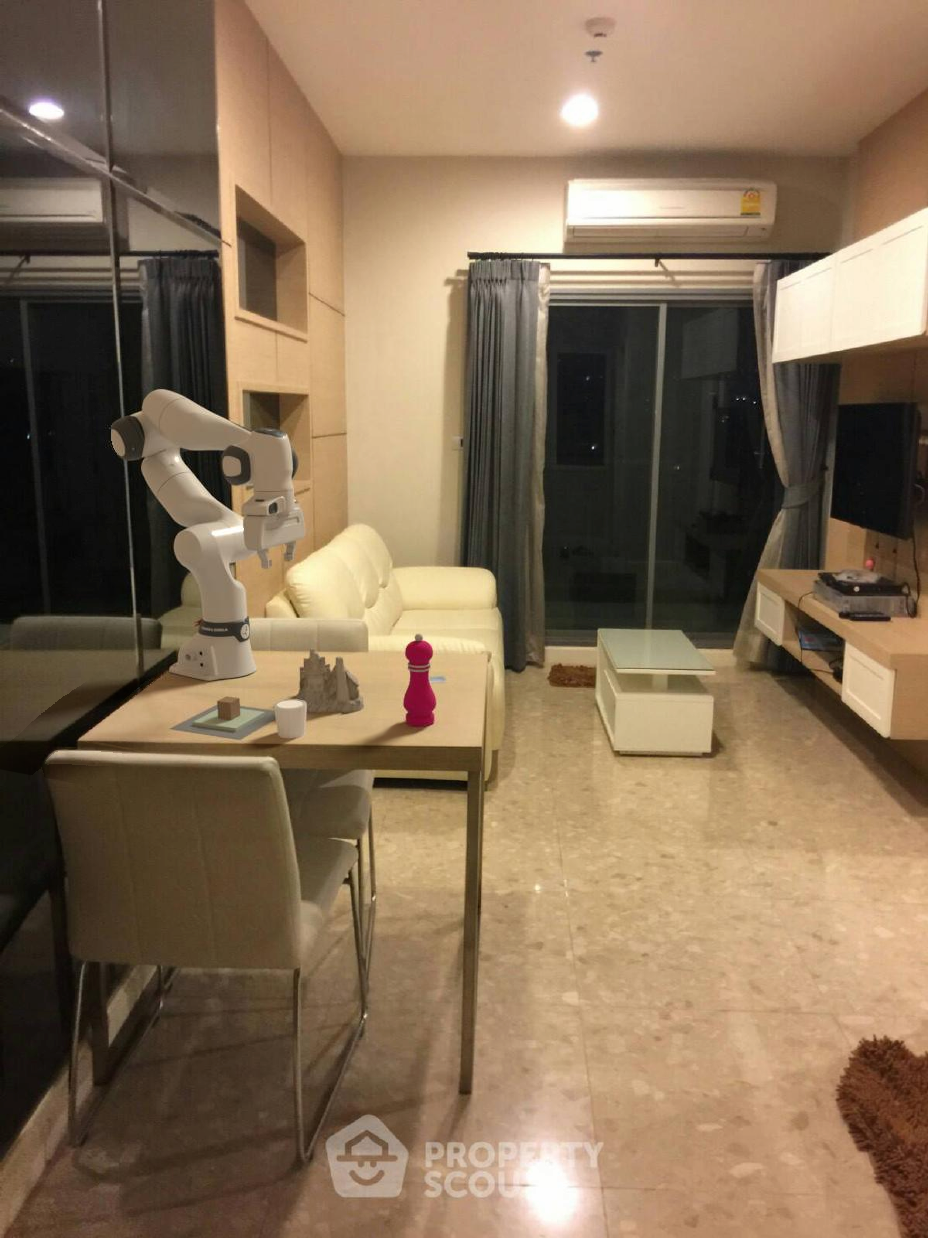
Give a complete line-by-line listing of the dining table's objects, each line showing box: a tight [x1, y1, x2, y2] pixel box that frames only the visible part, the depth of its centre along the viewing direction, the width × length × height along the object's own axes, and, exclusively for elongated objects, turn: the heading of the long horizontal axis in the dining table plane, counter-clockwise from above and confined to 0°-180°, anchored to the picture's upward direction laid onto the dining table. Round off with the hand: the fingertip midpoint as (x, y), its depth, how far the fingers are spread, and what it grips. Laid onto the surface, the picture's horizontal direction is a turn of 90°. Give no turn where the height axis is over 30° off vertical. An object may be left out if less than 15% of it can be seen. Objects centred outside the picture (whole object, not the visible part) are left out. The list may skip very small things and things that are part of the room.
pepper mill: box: [402, 633, 437, 728], centre depth 200 cm, size 7×7×20 cm
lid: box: [193, 695, 265, 732], centre depth 202 cm, size 11×11×5 cm
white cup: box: [273, 698, 308, 739], centre depth 194 cm, size 7×7×7 cm
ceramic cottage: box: [294, 647, 365, 714], centre depth 214 cm, size 16×16×15 cm
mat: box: [169, 704, 276, 741], centre depth 202 cm, size 18×18×1 cm
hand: (278, 564), depth 208 cm, fingers open, 8 cm apart
